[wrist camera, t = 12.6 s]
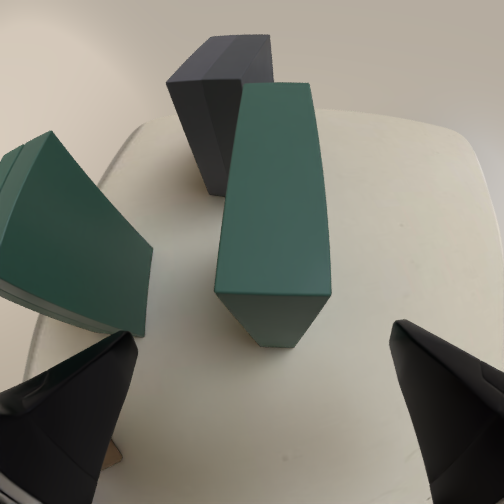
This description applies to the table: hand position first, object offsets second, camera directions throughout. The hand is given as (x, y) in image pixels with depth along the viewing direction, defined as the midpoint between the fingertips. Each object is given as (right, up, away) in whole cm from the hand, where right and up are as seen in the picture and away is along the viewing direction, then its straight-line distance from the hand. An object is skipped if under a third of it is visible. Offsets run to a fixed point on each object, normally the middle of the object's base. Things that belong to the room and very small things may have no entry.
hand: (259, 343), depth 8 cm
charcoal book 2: (0, +10, +15) cm, 18 cm away
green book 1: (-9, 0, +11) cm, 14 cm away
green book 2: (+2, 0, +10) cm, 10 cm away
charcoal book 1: (-2, +11, +15) cm, 18 cm away
